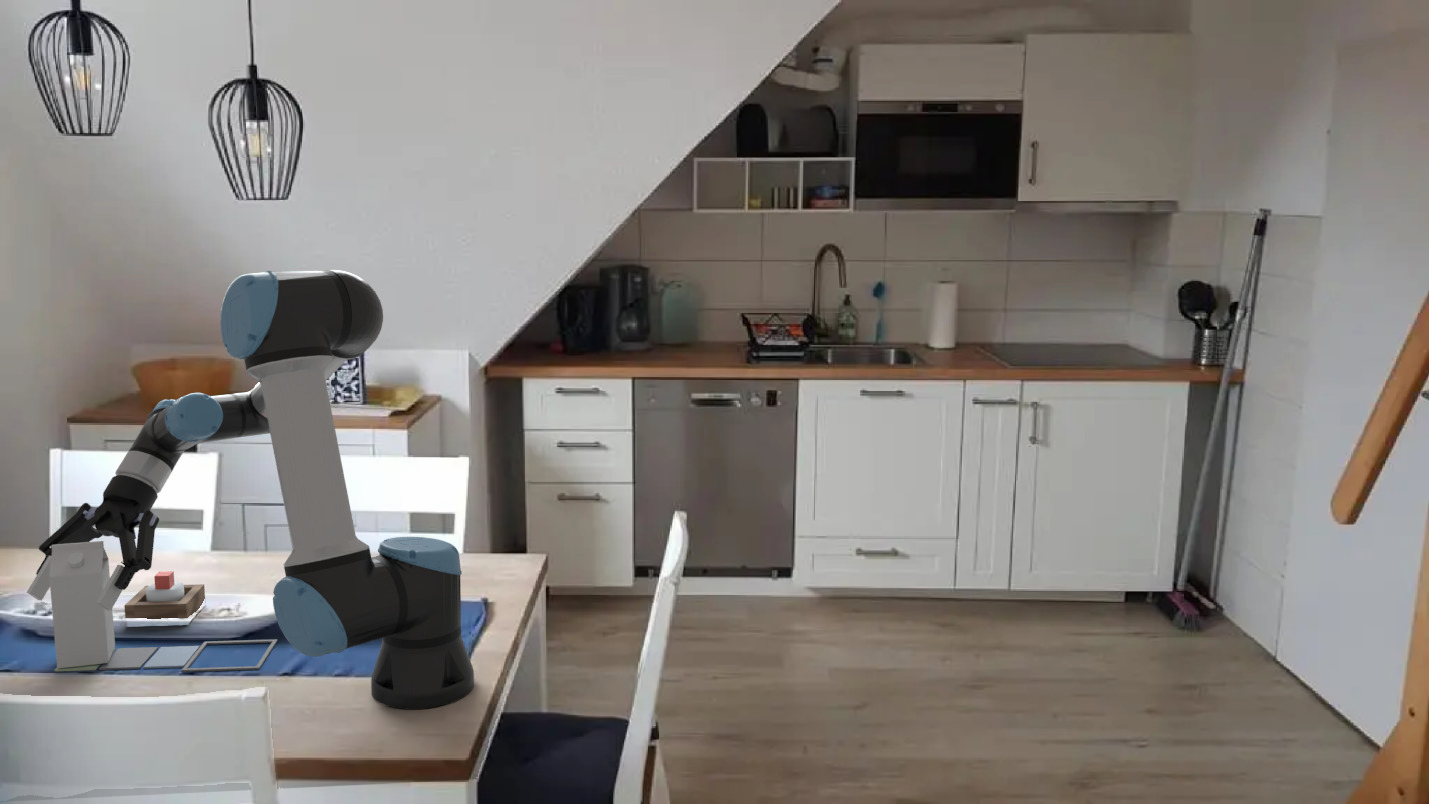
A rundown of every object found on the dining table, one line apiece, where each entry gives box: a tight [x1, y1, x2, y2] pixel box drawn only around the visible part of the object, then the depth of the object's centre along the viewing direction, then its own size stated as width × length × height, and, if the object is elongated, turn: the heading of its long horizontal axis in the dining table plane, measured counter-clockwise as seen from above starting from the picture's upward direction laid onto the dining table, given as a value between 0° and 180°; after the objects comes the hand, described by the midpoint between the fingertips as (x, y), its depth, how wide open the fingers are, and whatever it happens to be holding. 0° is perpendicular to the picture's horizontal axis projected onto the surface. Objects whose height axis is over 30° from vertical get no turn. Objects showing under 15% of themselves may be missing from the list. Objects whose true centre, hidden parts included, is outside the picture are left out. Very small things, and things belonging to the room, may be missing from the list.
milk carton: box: [49, 540, 116, 668], centre depth 176 cm, size 7×7×19 cm
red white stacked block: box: [146, 570, 185, 602], centre depth 196 cm, size 6×6×6 cm
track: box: [54, 639, 278, 673], centre depth 179 cm, size 12×31×1 cm, turn 98°
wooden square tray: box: [123, 584, 206, 619], centre depth 196 cm, size 10×10×4 cm
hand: (68, 601), depth 173 cm, fingers open, 13 cm apart
